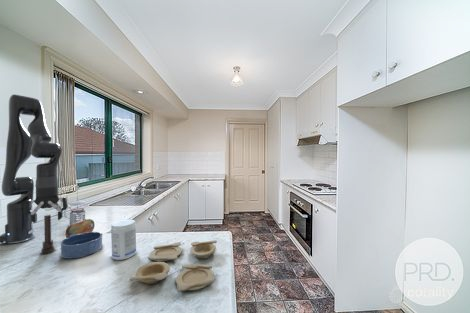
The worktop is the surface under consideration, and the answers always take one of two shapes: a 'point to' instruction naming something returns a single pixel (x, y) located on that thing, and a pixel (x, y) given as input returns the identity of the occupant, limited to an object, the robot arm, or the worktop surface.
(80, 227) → the tin
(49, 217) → the muddler
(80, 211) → the french press
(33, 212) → the robot arm
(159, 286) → the worktop surface
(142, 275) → the tableware set
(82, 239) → the bowl
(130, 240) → the supplement tub
